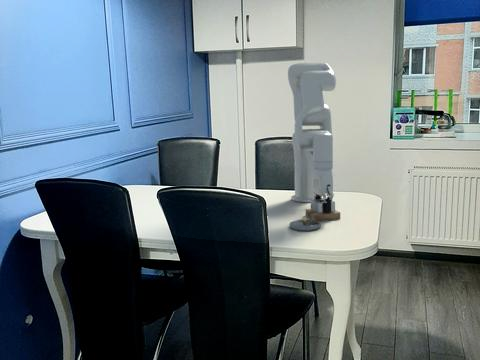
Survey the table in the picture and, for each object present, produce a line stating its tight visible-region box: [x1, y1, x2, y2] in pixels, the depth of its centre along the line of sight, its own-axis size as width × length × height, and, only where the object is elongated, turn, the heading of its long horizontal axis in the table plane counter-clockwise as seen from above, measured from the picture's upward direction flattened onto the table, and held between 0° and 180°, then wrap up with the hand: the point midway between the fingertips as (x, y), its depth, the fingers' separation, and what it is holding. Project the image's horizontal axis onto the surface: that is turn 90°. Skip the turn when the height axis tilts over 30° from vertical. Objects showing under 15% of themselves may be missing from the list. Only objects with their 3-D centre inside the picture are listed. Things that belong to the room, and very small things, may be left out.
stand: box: [305, 208, 341, 222], centre depth 187 cm, size 10×10×4 cm
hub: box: [289, 215, 321, 232], centre depth 175 cm, size 11×11×4 cm
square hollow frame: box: [310, 197, 336, 214], centre depth 187 cm, size 7×7×4 cm
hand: (322, 210), depth 187 cm, fingers closed on square hollow frame, 7 cm apart
